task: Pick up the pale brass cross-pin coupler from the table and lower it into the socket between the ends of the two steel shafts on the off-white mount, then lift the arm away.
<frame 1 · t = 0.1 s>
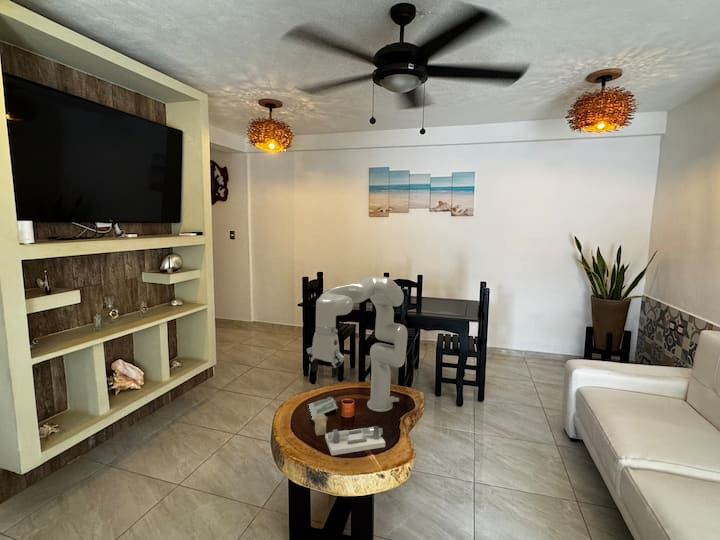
hand: (324, 373, 139), 31 cm above the table, tool pointing down, fingers open, 9 cm apart
coupler: (320, 432, 155), on the table
shaft mount: (354, 442, 148), on the table
left shaft: (372, 441, 150), resting on shaft mount
metal bracket: (323, 412, 174), on the table
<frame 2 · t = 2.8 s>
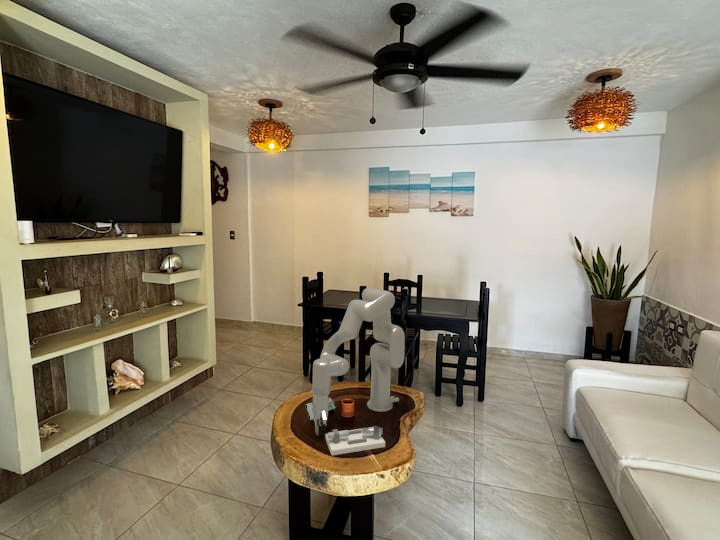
hand: (319, 428, 154), 2 cm above the table, tool pointing down, fingers open, 8 cm apart
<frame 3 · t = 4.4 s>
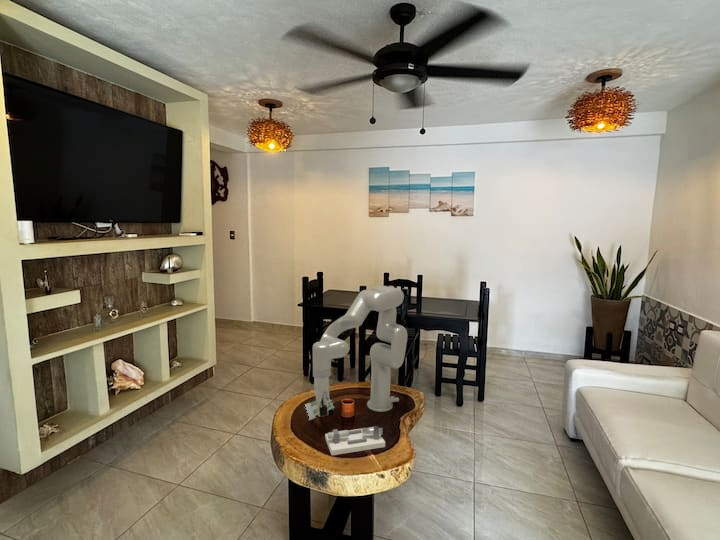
hand: (322, 412, 155), 9 cm above the table, tool pointing down, fingers closed on coupler, 4 cm apart
coupler: (322, 413, 155), point 8 cm above the table, touching gripper
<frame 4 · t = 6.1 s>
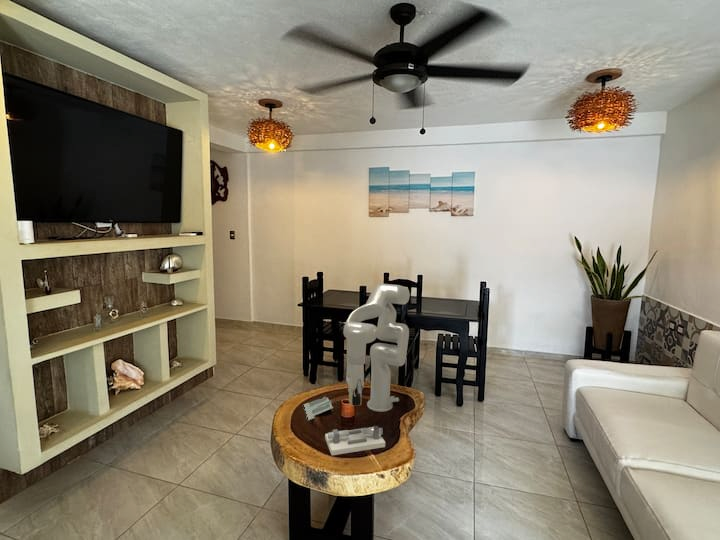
hand: (354, 401, 147), 17 cm above the table, tool pointing down, fingers closed on coupler, 4 cm apart
coupler: (354, 403, 147), point 17 cm above the table, touching gripper
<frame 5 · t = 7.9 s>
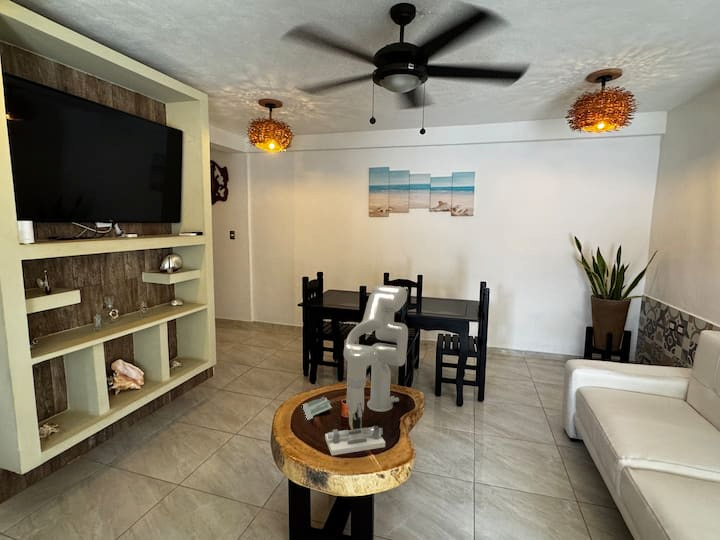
hand: (354, 424, 147), 8 cm above the table, tool pointing down, fingers closed on coupler, 4 cm apart
coupler: (354, 426, 147), point 7 cm above the table, touching gripper
when the fingers open (4 cm above the table, at t = 9.0 s): coupler drops 1 cm, resting on shaft mount.
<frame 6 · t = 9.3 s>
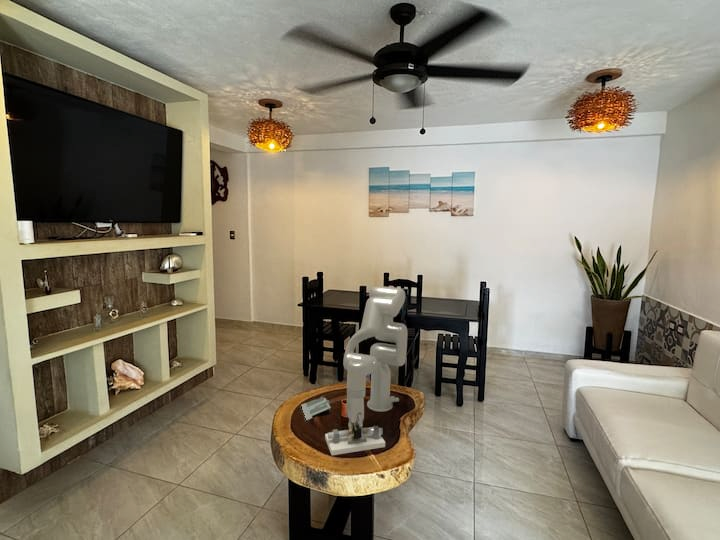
hand: (354, 432, 148), 4 cm above the table, tool pointing down, fingers open, 6 cm apart
coupler: (354, 437, 148), point 2 cm above the table, touching shaft mount
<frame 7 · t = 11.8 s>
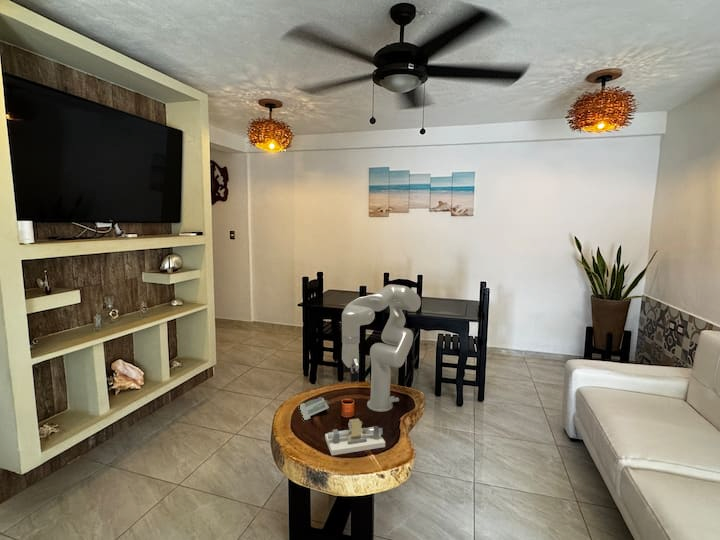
hand: (350, 376, 158), 23 cm above the table, tool pointing down, fingers open, 9 cm apart
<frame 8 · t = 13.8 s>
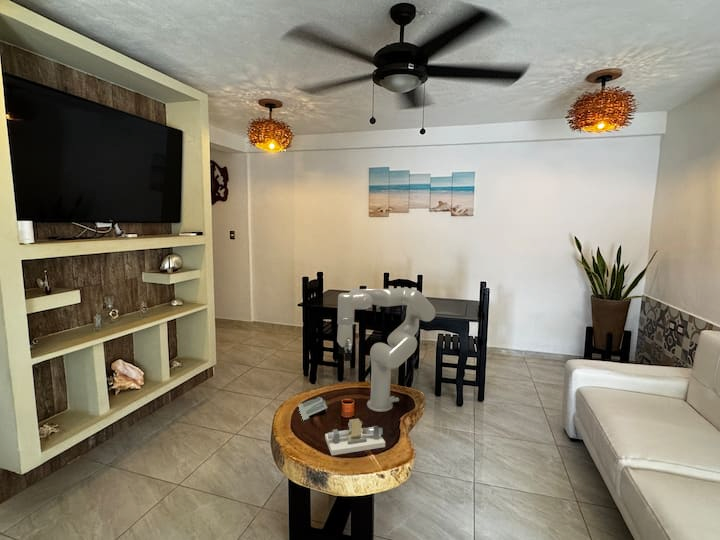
hand: (344, 357, 167), 28 cm above the table, tool pointing down, fingers open, 9 cm apart
at the end: coupler 0.1 cm off-centre on the shaft mount, point 2.0 cm above the shaft mount's base; coupler tilted 0°; the gripper is holding nothing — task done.
